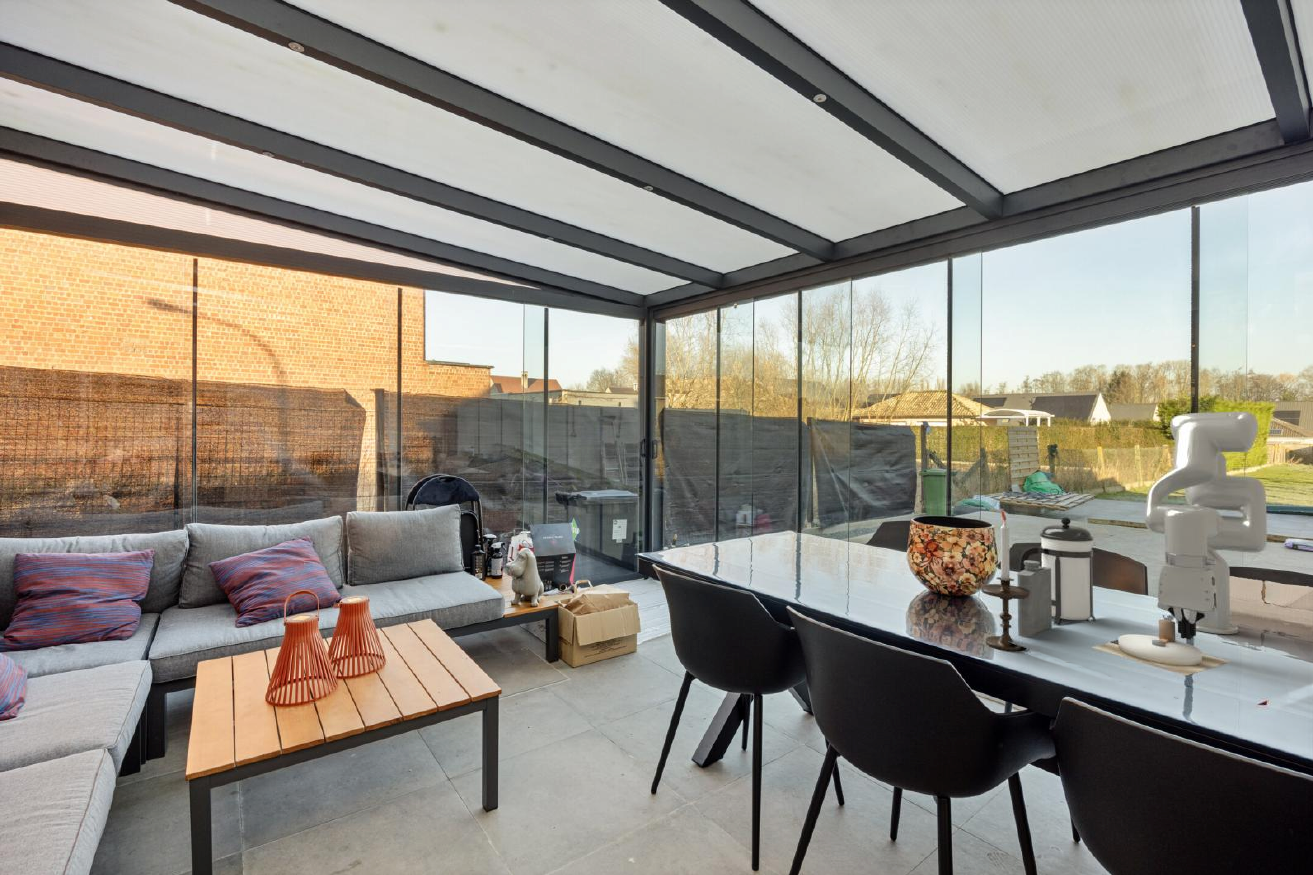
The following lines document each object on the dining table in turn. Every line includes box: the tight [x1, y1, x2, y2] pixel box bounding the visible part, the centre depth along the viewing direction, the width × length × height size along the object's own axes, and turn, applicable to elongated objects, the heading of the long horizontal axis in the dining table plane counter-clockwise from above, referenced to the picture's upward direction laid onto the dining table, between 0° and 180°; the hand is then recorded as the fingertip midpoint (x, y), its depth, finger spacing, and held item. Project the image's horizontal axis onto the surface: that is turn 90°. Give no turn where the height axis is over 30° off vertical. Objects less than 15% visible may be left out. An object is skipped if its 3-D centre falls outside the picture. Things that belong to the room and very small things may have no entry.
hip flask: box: [1017, 560, 1053, 638], centre depth 157 cm, size 16×4×20 cm, turn 127°
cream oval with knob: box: [1117, 619, 1203, 665], centre depth 139 cm, size 16×15×6 cm
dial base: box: [1090, 639, 1232, 677], centre depth 138 cm, size 19×19×2 cm
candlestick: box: [980, 508, 1030, 653], centre depth 149 cm, size 11×11×35 cm
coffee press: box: [1018, 517, 1098, 625], centre depth 170 cm, size 17×16×30 cm
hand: (1187, 637), depth 139 cm, fingers closed
